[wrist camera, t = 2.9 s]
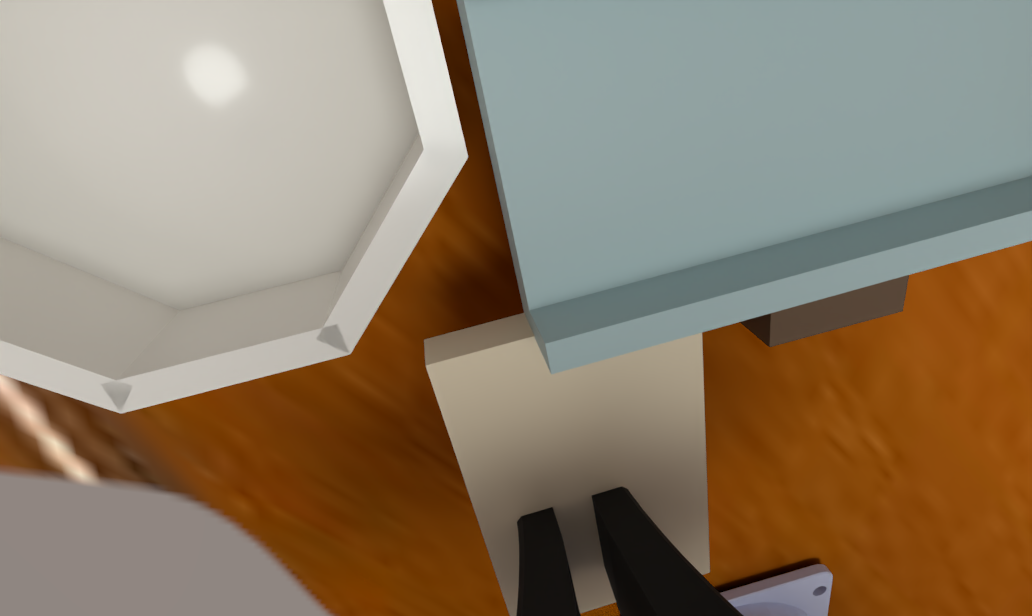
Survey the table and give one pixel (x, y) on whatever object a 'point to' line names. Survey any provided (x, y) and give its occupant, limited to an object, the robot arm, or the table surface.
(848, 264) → the lever
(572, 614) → the robot arm
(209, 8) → the bowl
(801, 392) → the table surface
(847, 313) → the stand
